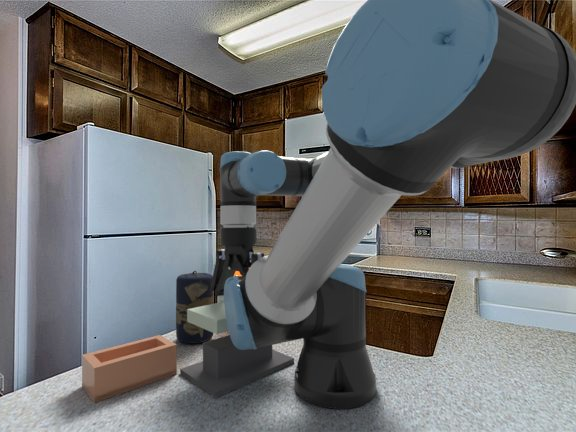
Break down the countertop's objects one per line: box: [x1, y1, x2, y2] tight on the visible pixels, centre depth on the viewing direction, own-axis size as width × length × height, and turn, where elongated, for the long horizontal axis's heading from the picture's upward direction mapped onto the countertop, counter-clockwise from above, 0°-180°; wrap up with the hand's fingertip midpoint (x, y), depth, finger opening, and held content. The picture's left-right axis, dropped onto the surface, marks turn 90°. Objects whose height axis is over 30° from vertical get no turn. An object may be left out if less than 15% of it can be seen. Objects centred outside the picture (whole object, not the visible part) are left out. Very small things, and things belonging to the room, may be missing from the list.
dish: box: [81, 334, 178, 404], centre depth 65 cm, size 8×15×6 cm, turn 135°
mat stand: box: [179, 334, 295, 399], centre depth 70 cm, size 13×20×6 cm, turn 135°
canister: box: [175, 270, 215, 344], centre depth 87 cm, size 10×10×18 cm
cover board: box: [187, 302, 229, 335], centre depth 70 cm, size 11×18×2 cm, turn 135°
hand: (239, 330), depth 70 cm, fingers closed on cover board, 11 cm apart
